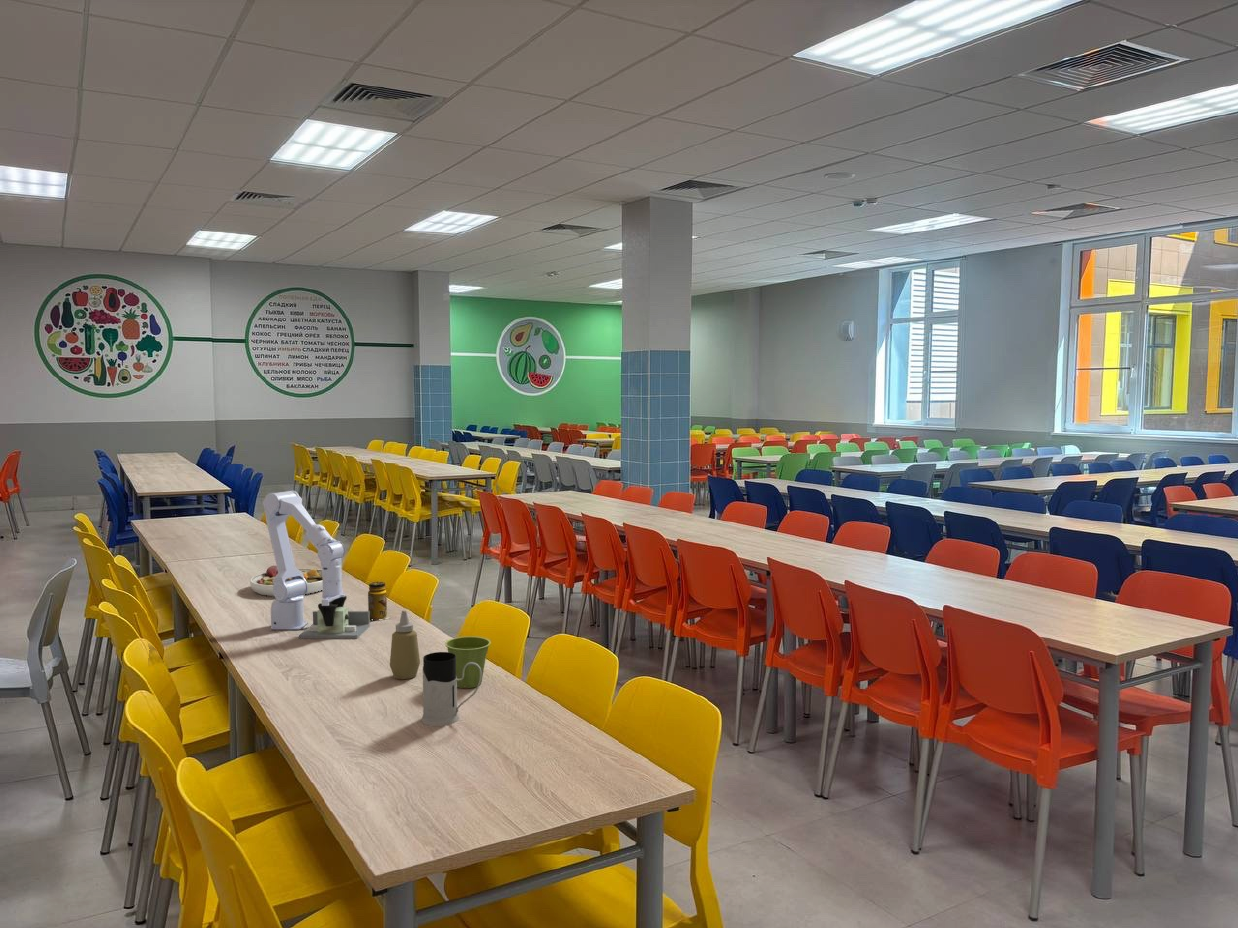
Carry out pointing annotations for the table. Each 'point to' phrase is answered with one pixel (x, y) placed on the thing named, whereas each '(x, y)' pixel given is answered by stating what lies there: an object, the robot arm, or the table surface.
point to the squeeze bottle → (404, 650)
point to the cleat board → (353, 620)
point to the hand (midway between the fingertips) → (333, 622)
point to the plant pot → (469, 658)
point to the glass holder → (441, 689)
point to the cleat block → (339, 621)
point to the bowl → (265, 580)
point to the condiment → (377, 601)
